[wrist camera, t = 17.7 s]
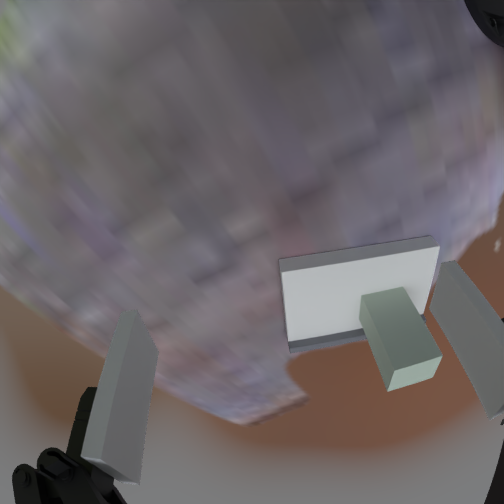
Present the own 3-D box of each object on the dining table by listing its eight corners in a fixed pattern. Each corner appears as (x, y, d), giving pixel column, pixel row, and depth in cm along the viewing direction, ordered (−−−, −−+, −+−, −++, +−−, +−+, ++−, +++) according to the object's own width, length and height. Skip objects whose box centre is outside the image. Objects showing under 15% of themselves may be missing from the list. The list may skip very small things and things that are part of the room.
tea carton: (361, 295, 44) (394, 370, 33) (402, 286, 44) (442, 355, 32) (358, 318, 47) (387, 391, 35) (398, 309, 47) (432, 377, 35)
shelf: (430, 235, 43) (444, 251, 39) (414, 308, 51) (424, 325, 48) (278, 259, 44) (282, 279, 40) (286, 333, 52) (290, 354, 48)
